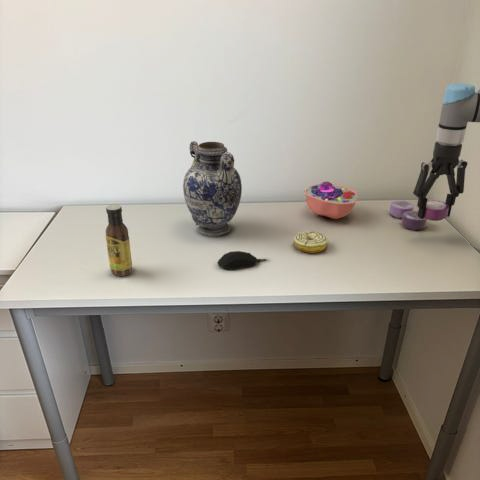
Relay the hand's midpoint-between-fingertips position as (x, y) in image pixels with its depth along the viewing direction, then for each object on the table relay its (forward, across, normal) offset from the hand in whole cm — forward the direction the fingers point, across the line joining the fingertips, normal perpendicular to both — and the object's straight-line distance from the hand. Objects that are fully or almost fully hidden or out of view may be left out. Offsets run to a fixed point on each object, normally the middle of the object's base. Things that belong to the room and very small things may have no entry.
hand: (433, 216), depth 161 cm
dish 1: (+8, 0, -20) cm, 22 cm away
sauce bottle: (+7, +97, +5) cm, 98 cm away
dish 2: (0, 0, 0) cm, 0 cm away
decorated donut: (+8, +39, -1) cm, 40 cm away
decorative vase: (+7, +67, -19) cm, 70 cm away
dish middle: (+8, 0, -10) cm, 13 cm away
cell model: (+8, +25, -24) cm, 36 cm away
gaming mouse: (+7, +62, +6) cm, 63 cm away
